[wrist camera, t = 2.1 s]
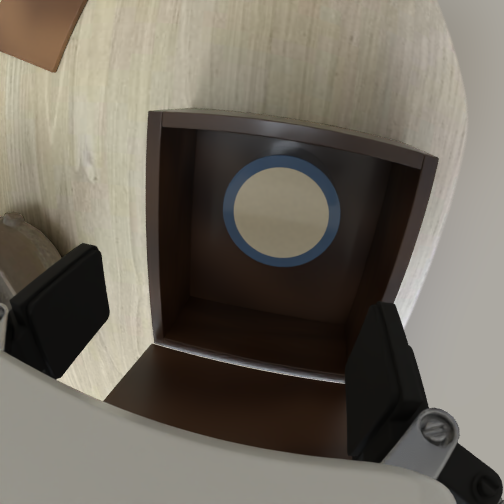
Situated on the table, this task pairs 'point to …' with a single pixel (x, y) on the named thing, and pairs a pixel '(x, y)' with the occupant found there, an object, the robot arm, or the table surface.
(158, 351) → the lid
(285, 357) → the chest
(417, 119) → the table surface
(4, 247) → the bowl
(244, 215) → the blue beige short cylinder
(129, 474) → the robot arm
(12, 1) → the plate
